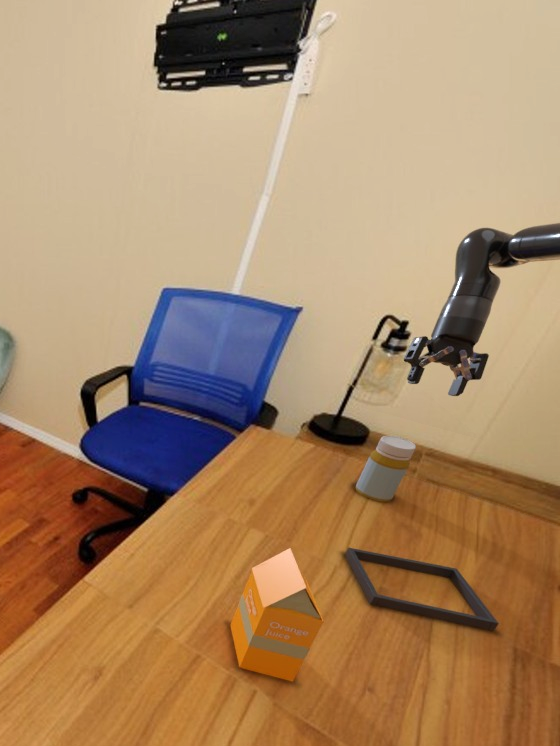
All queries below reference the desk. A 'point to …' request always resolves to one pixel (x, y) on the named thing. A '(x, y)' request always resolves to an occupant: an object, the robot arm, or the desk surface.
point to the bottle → (385, 468)
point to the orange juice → (275, 619)
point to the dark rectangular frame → (479, 621)
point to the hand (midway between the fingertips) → (433, 389)
